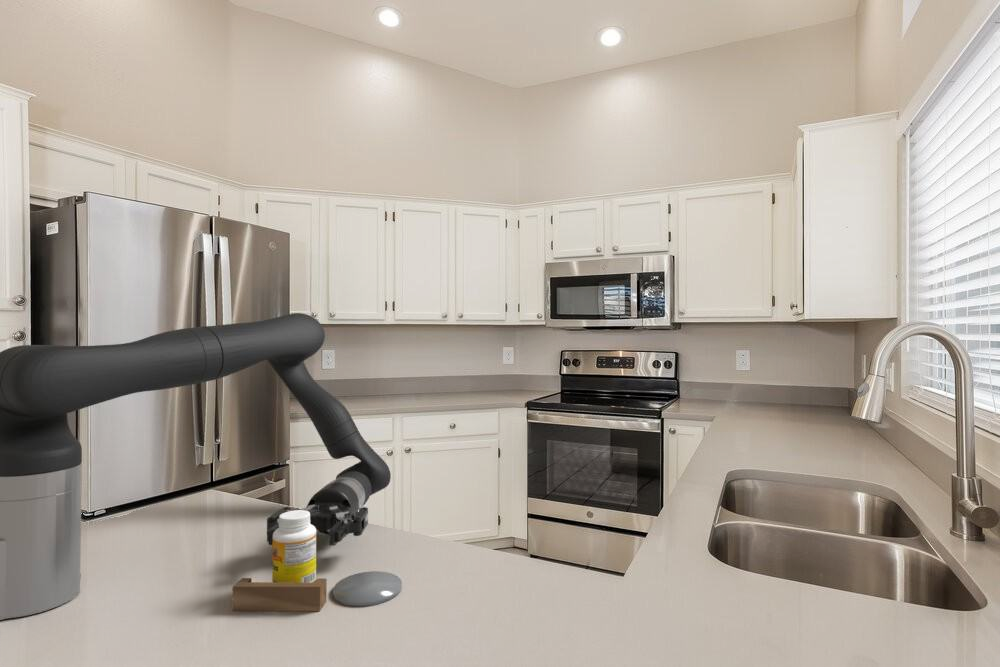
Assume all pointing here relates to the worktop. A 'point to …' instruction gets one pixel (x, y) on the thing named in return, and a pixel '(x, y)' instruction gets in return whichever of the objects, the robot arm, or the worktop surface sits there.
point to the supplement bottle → (294, 548)
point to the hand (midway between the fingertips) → (301, 538)
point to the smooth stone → (367, 588)
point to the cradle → (279, 595)
